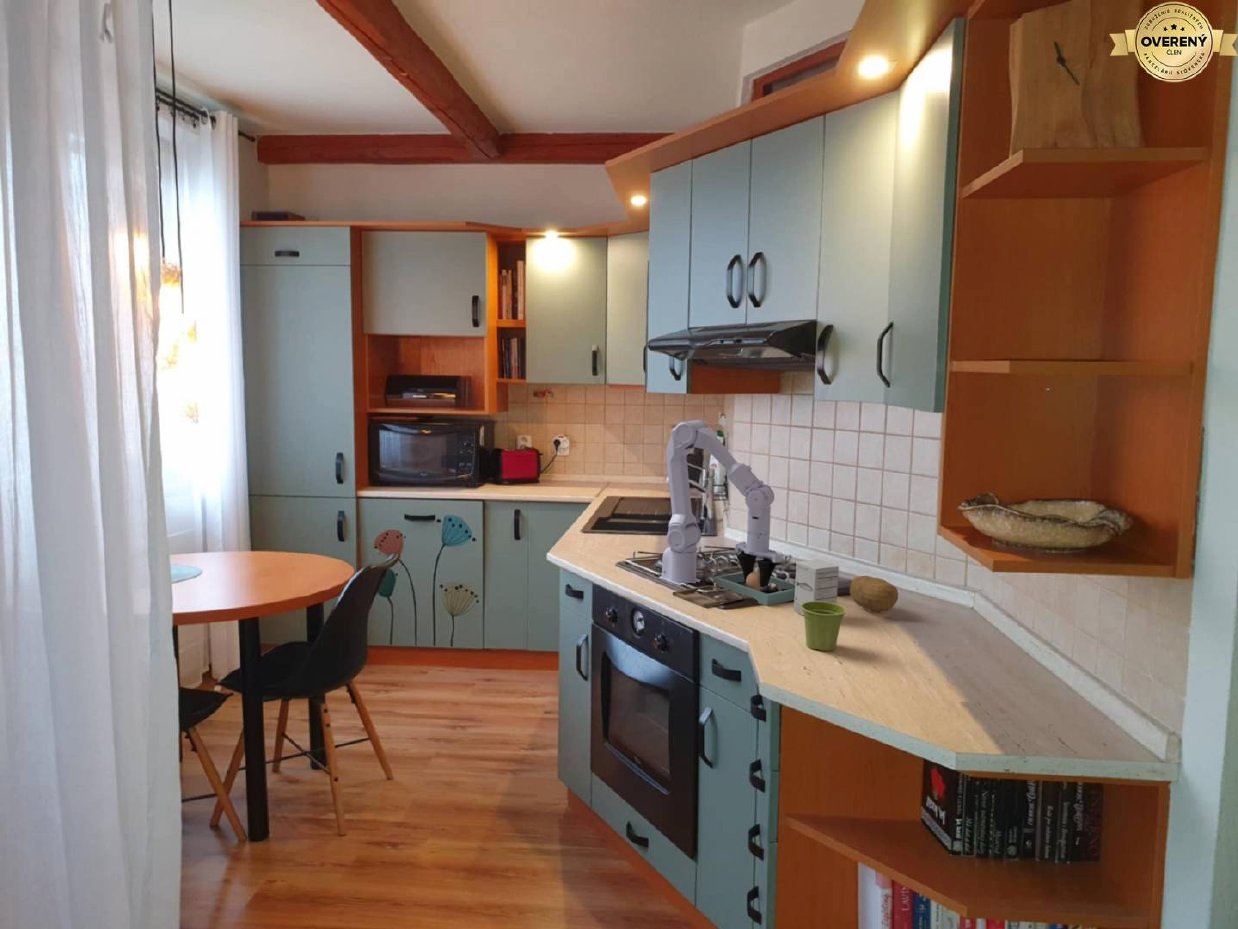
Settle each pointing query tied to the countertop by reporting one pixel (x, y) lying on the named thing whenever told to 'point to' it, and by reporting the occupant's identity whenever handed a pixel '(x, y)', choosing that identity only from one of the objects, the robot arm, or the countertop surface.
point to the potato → (873, 593)
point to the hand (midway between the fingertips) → (756, 583)
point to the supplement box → (815, 582)
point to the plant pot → (822, 624)
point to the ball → (754, 581)
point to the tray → (766, 599)
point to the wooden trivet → (697, 597)
